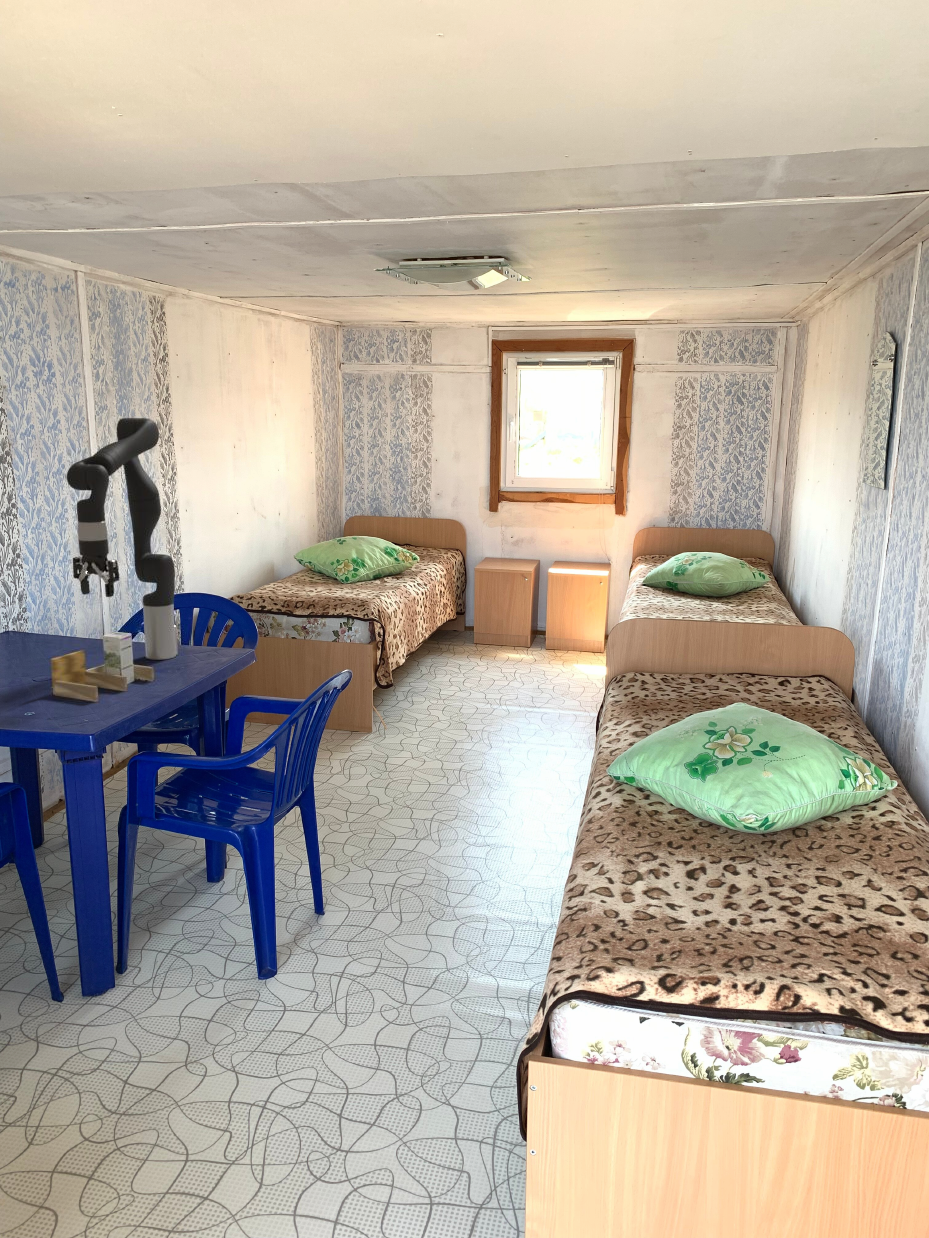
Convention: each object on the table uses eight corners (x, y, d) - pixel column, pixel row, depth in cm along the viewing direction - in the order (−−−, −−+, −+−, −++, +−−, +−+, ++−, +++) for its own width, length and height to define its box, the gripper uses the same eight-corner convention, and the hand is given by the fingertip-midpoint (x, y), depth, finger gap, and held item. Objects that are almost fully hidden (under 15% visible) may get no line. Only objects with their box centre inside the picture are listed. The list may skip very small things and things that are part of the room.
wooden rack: (112, 674, 264) (110, 642, 262) (154, 680, 258) (152, 647, 256) (51, 694, 243) (49, 659, 241) (95, 701, 237) (93, 665, 235)
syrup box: (135, 681, 257) (132, 632, 254) (122, 686, 252) (119, 636, 249) (118, 679, 259) (115, 631, 256) (105, 684, 253) (101, 635, 250)
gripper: (123, 537, 245) (127, 595, 249) (83, 534, 250) (88, 590, 254) (102, 541, 238) (107, 600, 242) (62, 537, 243) (67, 595, 247)
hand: (97, 595), depth 248 cm, fingers open, 8 cm apart
